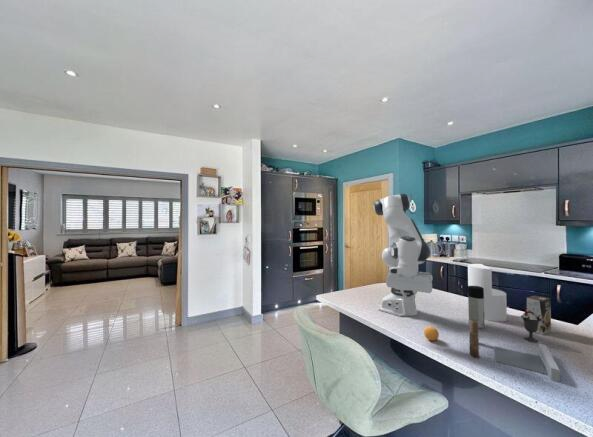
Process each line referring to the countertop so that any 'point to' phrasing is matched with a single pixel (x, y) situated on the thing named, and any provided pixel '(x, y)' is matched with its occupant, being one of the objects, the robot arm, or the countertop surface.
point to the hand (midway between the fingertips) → (408, 298)
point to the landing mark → (519, 359)
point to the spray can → (476, 305)
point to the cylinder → (488, 292)
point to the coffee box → (541, 312)
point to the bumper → (549, 363)
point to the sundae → (530, 324)
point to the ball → (431, 333)
